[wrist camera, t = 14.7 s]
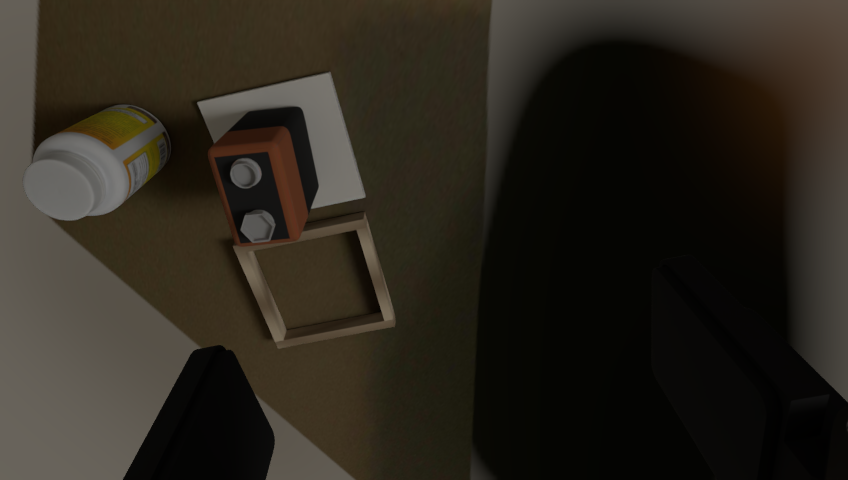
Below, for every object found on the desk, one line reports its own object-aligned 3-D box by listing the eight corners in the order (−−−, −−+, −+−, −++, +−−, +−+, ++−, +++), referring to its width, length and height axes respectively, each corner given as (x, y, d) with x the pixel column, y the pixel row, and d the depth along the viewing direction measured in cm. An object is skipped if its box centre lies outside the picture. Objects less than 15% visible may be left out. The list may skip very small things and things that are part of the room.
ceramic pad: (199, 100, 38) (197, 102, 38) (330, 71, 38) (329, 72, 37) (248, 218, 43) (246, 222, 42) (365, 194, 42) (365, 197, 42)
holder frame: (237, 237, 44) (232, 246, 42) (364, 211, 43) (363, 219, 42) (281, 338, 49) (278, 348, 48) (395, 316, 48) (395, 326, 47)
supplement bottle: (82, 117, 39) (-16, 164, 30) (147, 91, 38) (67, 131, 29) (126, 182, 41) (48, 244, 32) (188, 159, 40) (126, 216, 31)
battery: (267, 194, 41) (230, 257, 32) (244, 110, 38) (197, 154, 29) (321, 188, 41) (298, 250, 32) (303, 103, 38) (273, 146, 29)
